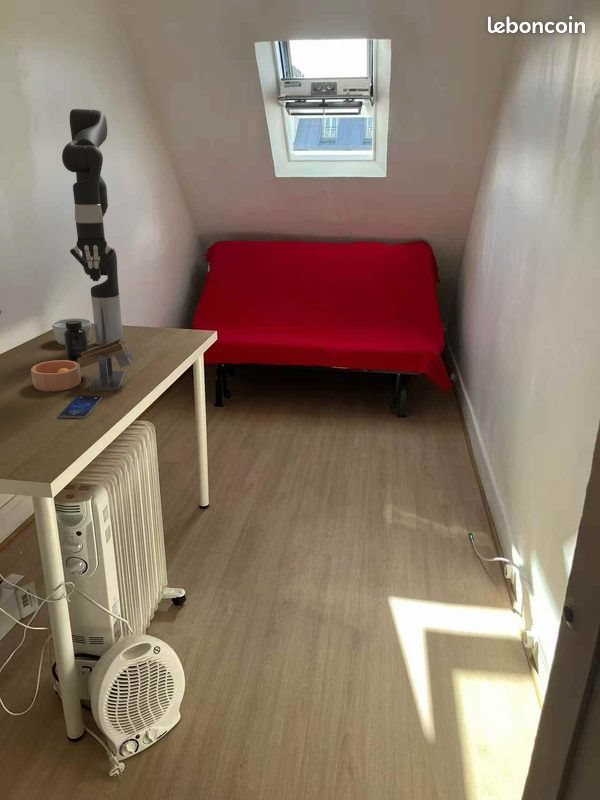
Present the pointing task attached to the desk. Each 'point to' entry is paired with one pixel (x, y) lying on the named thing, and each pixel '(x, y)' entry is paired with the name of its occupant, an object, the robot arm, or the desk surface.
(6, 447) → the desk surface
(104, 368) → the chute stand
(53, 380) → the pink round bowl
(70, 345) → the supplement bottle
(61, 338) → the white bowl
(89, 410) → the smartphone
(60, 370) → the ball
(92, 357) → the chute
